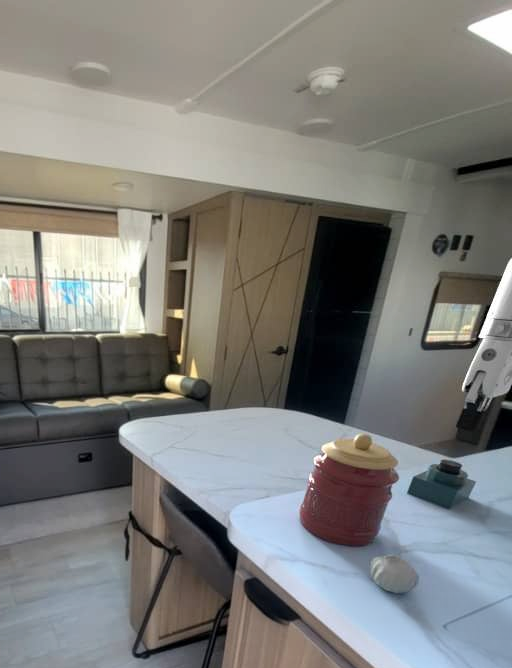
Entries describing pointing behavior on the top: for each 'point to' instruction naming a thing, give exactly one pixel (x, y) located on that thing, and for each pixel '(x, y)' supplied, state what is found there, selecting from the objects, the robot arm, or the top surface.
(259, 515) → the top surface
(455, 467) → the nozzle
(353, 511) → the kitchen canister
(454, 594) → the top surface
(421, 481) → the green push button box
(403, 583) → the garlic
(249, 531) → the top surface
